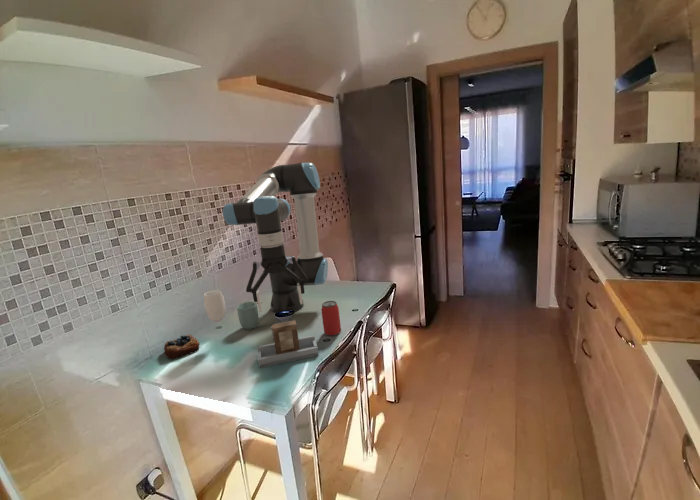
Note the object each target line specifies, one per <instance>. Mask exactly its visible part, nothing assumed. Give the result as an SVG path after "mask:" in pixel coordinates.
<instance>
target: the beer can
mask: <svg viewBox="0 0 700 500" xmlns="http://www.w3.org/2000/svg"><path fill="white" fill-rule="evenodd" d="M340 317H341V316H340V310H339V306H338V303H337V301H336V300H326V301H325V302H323V303H322V304H321V318H322V319H321V320H322V326H323V333H324V334H325V335H326V336H328V337H329V336H331V337H332V336H336V335H339V334H340V333H341V331H342V328H341V319H340Z"/></svg>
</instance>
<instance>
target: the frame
mask: <svg viewBox="0 0 700 500" xmlns="http://www.w3.org/2000/svg"><path fill="white" fill-rule="evenodd" d="M297 327H298V326H297V322H296V319H294V320H288V321H285V322H278V323H274V324H271V330H272V336H273V343H275V349H276V355H278V354H282V353H287V352H292V351H297V350H300V347H299V340H298V338H299V335H298V334H299V333H298V328H297Z"/></svg>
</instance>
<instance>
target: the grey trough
mask: <svg viewBox="0 0 700 500" xmlns="http://www.w3.org/2000/svg"><path fill="white" fill-rule="evenodd" d="M315 337H316V336H315V335H314V334H313V335H310V336H309V335H307V336H303V337H298V340H299V347H300V350H297V351H292V352H287V353H282V354H278V355H276V349H275V343H274V342H272V343H269V344H264V345H258V346H256V349H257V362H258V368H259V369H262V368H266V367H270V366H271V367H272V366H277V365H280V364H285V363H290V362H294V361H299V360H305V359H309V358H313V357H318V356H320V355H319V348H318V345H317V341H316V338H315Z"/></svg>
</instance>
